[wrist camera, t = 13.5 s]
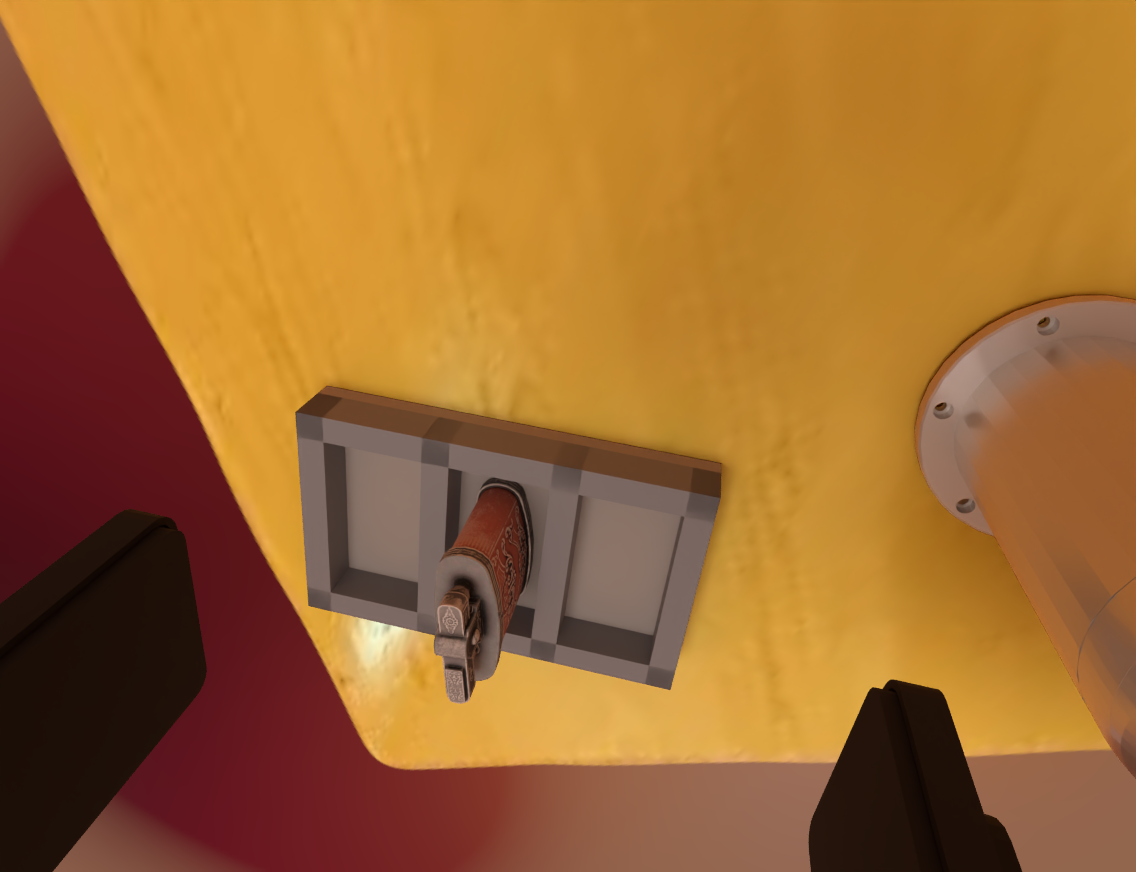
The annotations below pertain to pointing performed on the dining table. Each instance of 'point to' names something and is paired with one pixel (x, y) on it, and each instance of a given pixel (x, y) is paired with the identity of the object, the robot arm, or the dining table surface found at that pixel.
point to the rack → (559, 516)
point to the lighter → (482, 585)
